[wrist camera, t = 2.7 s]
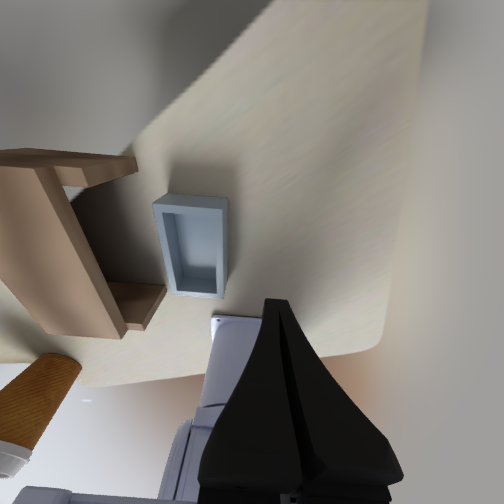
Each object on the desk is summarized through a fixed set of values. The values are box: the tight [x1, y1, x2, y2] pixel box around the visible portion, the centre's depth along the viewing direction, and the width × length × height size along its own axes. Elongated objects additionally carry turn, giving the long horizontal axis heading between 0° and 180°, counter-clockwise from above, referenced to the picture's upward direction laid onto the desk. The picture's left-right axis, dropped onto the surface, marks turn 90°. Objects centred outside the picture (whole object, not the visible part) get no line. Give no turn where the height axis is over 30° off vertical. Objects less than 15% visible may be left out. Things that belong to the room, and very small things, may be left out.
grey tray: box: [152, 193, 228, 299], centre depth 17 cm, size 5×9×3 cm, turn 176°
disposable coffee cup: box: [0, 354, 82, 479], centre depth 27 cm, size 10×10×12 cm
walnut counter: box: [0, 148, 167, 340], centre depth 15 cm, size 8×14×6 cm, turn 176°
